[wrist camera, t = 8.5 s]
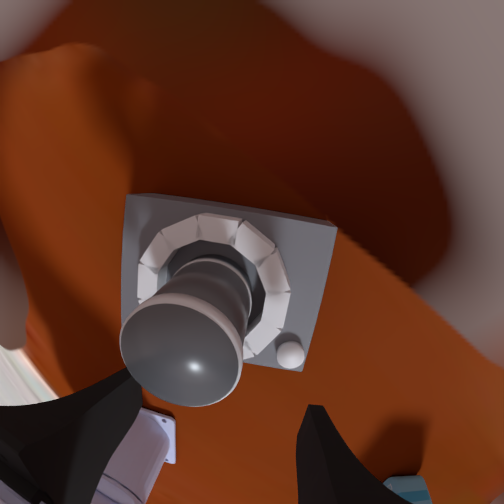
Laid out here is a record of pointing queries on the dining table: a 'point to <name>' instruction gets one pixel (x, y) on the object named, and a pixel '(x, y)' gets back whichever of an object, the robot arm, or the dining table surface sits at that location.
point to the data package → (409, 488)
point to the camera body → (244, 254)
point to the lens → (191, 333)
